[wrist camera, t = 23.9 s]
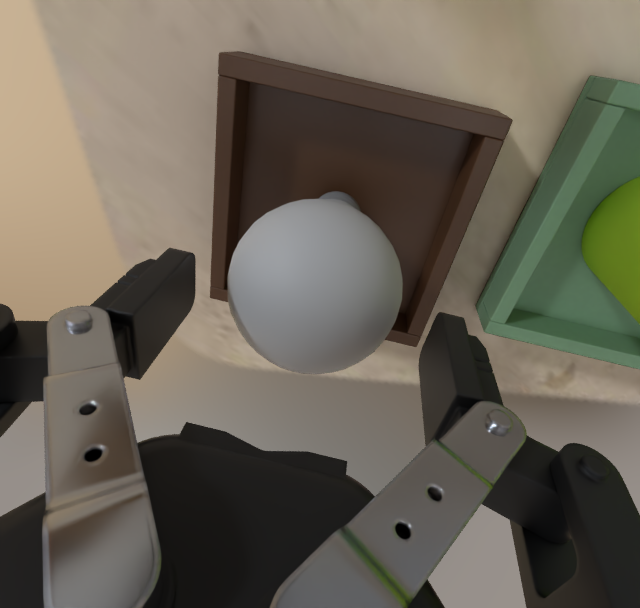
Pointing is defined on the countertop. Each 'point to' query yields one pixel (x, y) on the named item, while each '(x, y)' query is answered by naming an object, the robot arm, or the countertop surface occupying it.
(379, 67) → the countertop surface
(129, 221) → the countertop surface
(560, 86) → the countertop surface
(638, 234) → the soap dispenser
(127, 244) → the countertop surface
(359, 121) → the walnut tray
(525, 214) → the green tray
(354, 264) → the lightbulb
